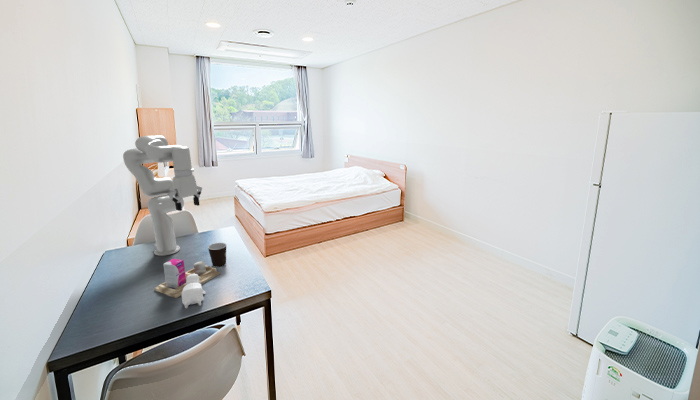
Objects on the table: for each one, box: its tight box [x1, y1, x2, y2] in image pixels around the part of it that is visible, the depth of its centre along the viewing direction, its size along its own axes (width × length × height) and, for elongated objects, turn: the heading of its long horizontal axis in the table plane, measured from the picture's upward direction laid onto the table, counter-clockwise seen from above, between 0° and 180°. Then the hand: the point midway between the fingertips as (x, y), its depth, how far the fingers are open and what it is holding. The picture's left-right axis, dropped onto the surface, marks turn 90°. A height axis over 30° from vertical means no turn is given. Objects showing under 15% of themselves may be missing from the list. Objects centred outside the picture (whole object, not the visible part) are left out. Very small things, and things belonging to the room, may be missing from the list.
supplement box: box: [162, 258, 186, 289], centre depth 139 cm, size 6×6×12 cm
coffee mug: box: [207, 242, 227, 268], centre depth 163 cm, size 12×9×10 cm
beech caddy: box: [154, 260, 221, 299], centre depth 145 cm, size 14×23×6 cm, turn 154°
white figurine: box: [181, 274, 206, 309], centre depth 132 cm, size 8×8×15 cm
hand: (188, 207), depth 154 cm, fingers open, 9 cm apart
